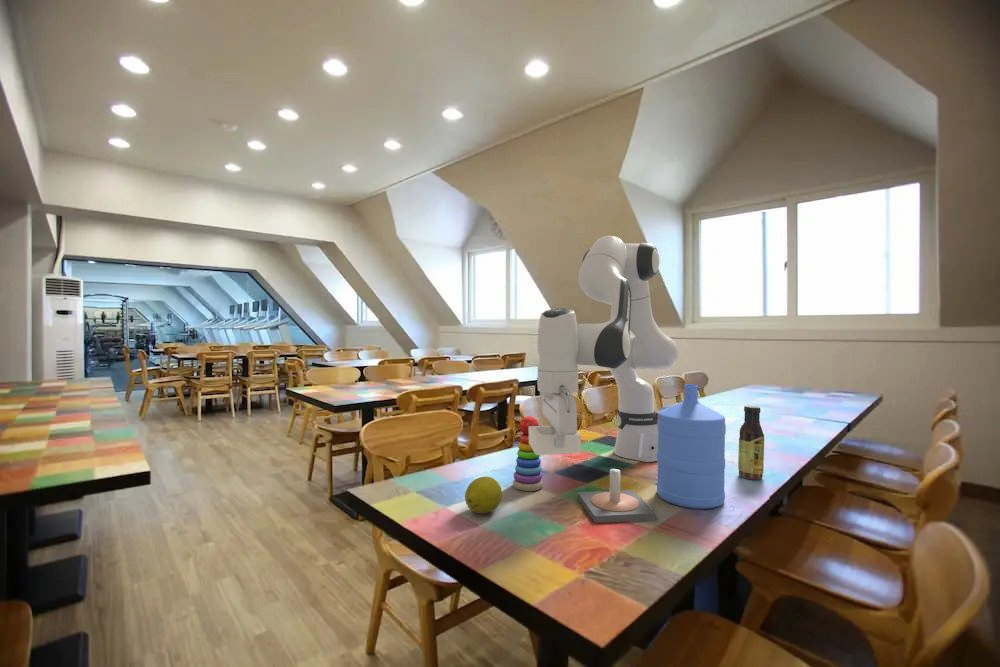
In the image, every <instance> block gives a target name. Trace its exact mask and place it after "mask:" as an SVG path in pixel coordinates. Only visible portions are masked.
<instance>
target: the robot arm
mask: <svg viewBox="0 0 1000 667" xmlns="http://www.w3.org/2000/svg"><path fill="white" fill-rule="evenodd" d="M660 260H661V259H660V254H659V251H658V249H657V247H656V246H655V245H654V244H653V243H650V242H649V243H648V242H640V243H633V242H631V243H629V242H627V243H626V242H623V240H622V239H620V238H619V237H617V236H614V235H605V236H604V235H603V236H602V237H599V238H598V239H597V240H596V241H595V242H593V245H592V246H590V249H588V250H587V251H586V252H585V253H584V254H583V257H582V264H581V266H580V269H579V272H578V276H577V277H578V278H577V280H578V285H579V287H580V290H581V291H582V292H583V293H584V294H585V295H586V296H587V297H589V299H591V300H594V301H595V302H600V303H603V304H607V305H609V306H611V309H610V316H609V317H610V319H609V320H608V321H606V322H602V323H578V321H577V316H576V312H575V311H574V309H571V308H563V307H562V308H560V307H559V308H551V309H548V310H545V311H544V312H542V313H541V314H540V316H539V321H538V322H539V323H538V330H537V353H538V358H539V362H538V365H537V378H536V384H537V391H538V392H539V399H540V409H541V414H542V416H543V417H544V419H545V420H546V421H547V422H548V423H549V426H550V428H551V433H552V434H556V436H555V446H556V448H563V447H564V439H565V435H575V434H576V432H578V420H577V419H578V417H577V416H578V415H577V404H576V398H575V397H574V396H573V394H575V393H577V392H578V391H579V366H592V367H593V366H594V367H599V368H600V367H601V368H606V369H608V370H609V372H610V373H611V375H612V376H613V378H614V381H615V383H616V386H617V395H618V409H617V414H616V424H617V425H616V427H617V432H616V439H615V443H614V448H613V451H612V452H613V453H614V455H616V456H618V457H622V458H623V459H630V460H637V461H641V462H644V463H650V462H658V461H657V451H658V427H657V422H658V413H659V412H656V411H654V409H655V408H654V406H655V404H654V403H655V402H654V400H655V393H654V392H655V391H654V388H653V386H652V385H651V384H650V383H649V382H648V381H646V380H644V379H642V378H640V377H639V376H638V374H637V371H636V370H652V371H653V370H654V371H657V370H658V371H659V370H667V369H671V368H672V367H674V366H675V364H676V363H677V361H678V358H679V348H678V345H677V343H676V342H675V341H674V339H673V338H671V337H669V336H668V335H667V334H665V333H664V332H663V330H662V329H661V328H660V327H659V326H658V324H657V323H656V320H655V319H654V316H653V312H652V311H653V309H652V303H651V293H650V292H651V291H650V284H649V280H650V279H653V278H654V277H655V275H656V274H657V273H658V271H659V267H660V262H661V261H660ZM630 332H631V333H632V334H633V335H631V333H630Z"/></svg>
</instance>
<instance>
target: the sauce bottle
mask: <svg viewBox="0 0 1000 667" xmlns="http://www.w3.org/2000/svg"><path fill="white" fill-rule="evenodd" d="M743 411H744V419H743V420H744V422H743V424H742V425H741V427H740V428H739V437H738V455H737V456H738V462H737V465H738V466H737V469H738V475H739V477H741V478H743V479H746V480H753V481H754V480H757V481H759V480H762V479H763V476H764V468H765V467H764V466H765V464H764V462H765V461H764V460H765V458H764V457H765V434H764V432H763V429H762V426H761V423H760V422H761V420H760V413H761V407H760V406H756V405H744V406H743Z"/></svg>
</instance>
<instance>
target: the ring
mask: <svg viewBox="0 0 1000 667" xmlns="http://www.w3.org/2000/svg"><path fill="white" fill-rule="evenodd" d="M555 436H556V434H552V433H551V428H550V425H539V426H529V444H530V446H531V448H532V449H533V451H534V453H535V454H536V455H540V456H542V455H543V456H544V455H571V454H582V435H581V434H580V433H579V432H578V431H577V432H576V434H575V435H565V439H564V447H563V448H556V446H555Z"/></svg>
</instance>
